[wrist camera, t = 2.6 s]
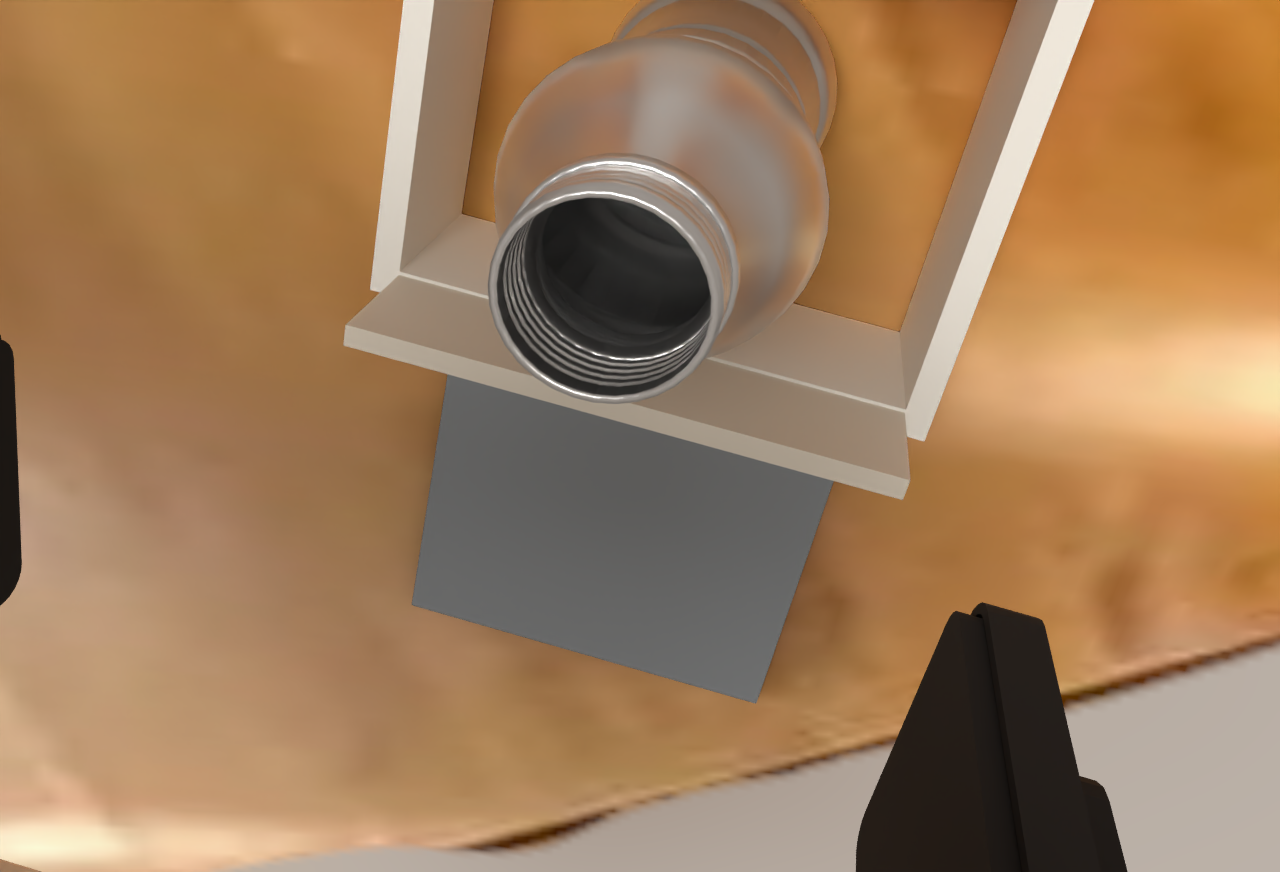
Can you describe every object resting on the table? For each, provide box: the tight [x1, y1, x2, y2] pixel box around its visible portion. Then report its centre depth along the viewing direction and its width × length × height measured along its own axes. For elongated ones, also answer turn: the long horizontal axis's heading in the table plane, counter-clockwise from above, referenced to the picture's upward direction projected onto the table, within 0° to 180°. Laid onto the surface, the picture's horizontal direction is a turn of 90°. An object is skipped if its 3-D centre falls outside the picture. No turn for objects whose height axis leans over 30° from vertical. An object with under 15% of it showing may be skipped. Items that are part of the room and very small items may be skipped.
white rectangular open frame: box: [344, 0, 1094, 500], centre depth 31 cm, size 15×17×10 cm
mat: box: [412, 374, 834, 703], centre depth 43 cm, size 14×14×1 cm
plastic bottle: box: [488, 0, 838, 404], centre depth 27 cm, size 6×7×20 cm
